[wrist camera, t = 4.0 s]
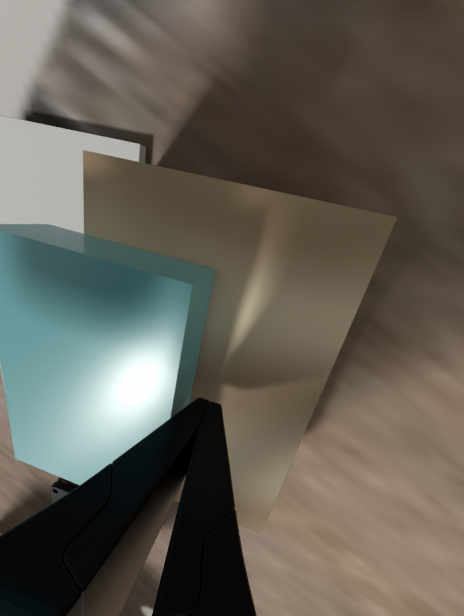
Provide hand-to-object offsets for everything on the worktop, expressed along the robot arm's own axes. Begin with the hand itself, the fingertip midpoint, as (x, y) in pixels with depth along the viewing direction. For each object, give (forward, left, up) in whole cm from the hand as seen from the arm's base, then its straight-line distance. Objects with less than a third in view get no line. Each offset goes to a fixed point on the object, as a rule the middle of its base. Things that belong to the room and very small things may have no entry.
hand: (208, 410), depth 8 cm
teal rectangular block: (0, +4, -1) cm, 4 cm away
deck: (0, +1, -5) cm, 5 cm away
